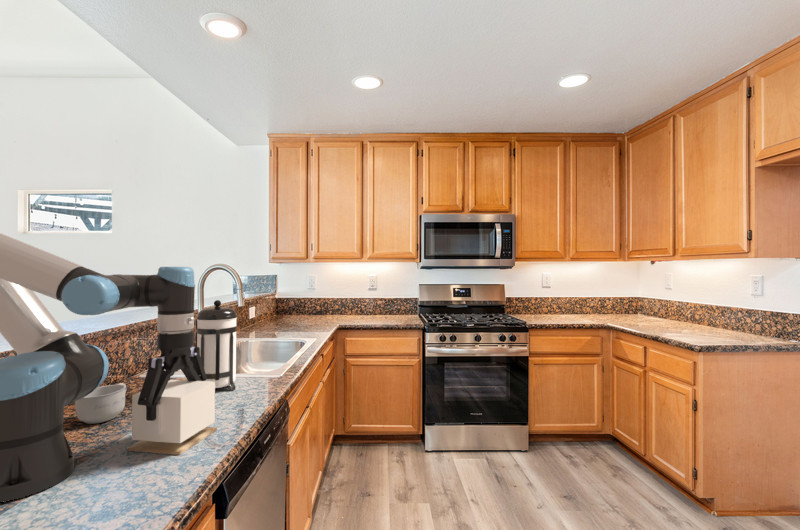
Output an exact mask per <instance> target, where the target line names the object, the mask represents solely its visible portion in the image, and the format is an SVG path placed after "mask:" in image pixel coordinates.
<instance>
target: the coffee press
mask: <svg viewBox="0 0 800 530" xmlns="http://www.w3.org/2000/svg"><path fill="white" fill-rule="evenodd" d="M213 305H214V307H207V308H206V307H205V308H203V309H201V310H199V312H198V314H197V315H196V316H195V319H196V321H197V322H196V324H197V325H196V347H199V348H200V357H201V361H202V364H203V367H204V370H205V374H206V377H207V379H206V381H212V382H215V389H219V388H223V387H224V388H227V389H228V390H229V391H230V390H232V391H235V390H236V388H237V387H236V385H235V383H234V382H235V381H236V379H237V378H236V375H237V374H236V373H237V372H236V370H237V331H238V324H237V319H238V316H239V314H238V313H237V312H236V310H235V309H233V308H232V307H226V306H225V307H223V306H221V305H222V302H221V300H219V299H218V300H215V301H214V302H213ZM199 376H201V375H199Z"/></svg>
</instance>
